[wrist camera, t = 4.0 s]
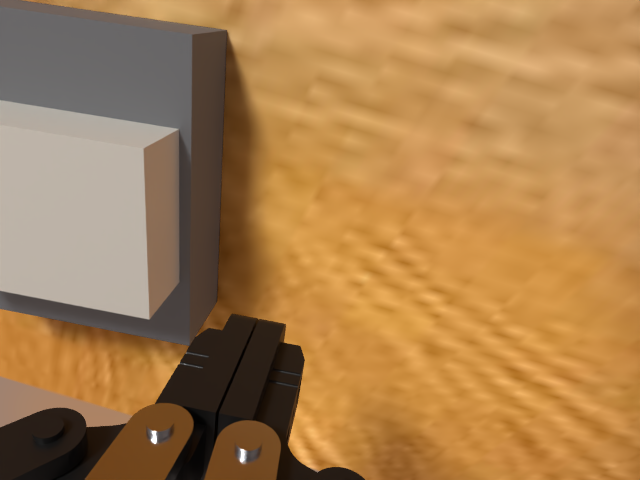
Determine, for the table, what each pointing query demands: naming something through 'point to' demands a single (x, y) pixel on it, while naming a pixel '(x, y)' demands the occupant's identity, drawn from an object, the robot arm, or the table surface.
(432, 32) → the table surface
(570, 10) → the table surface
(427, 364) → the table surface
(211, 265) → the grey flat block
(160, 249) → the white rectangular block
